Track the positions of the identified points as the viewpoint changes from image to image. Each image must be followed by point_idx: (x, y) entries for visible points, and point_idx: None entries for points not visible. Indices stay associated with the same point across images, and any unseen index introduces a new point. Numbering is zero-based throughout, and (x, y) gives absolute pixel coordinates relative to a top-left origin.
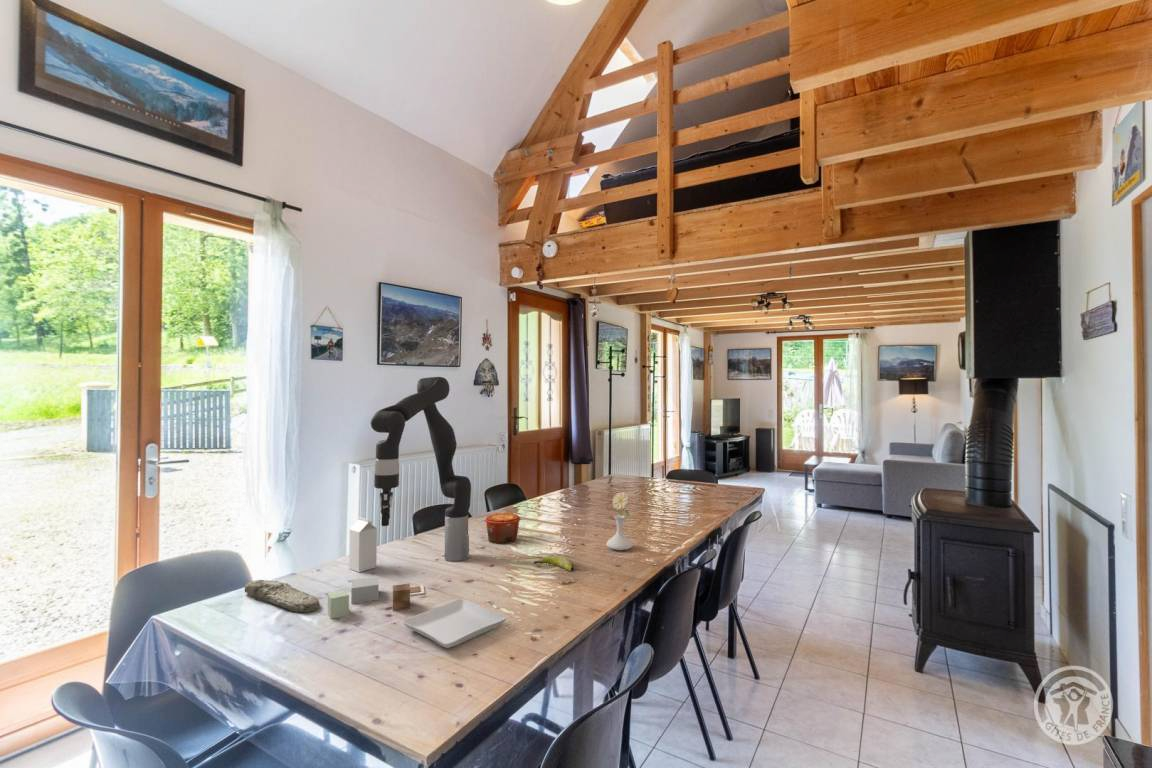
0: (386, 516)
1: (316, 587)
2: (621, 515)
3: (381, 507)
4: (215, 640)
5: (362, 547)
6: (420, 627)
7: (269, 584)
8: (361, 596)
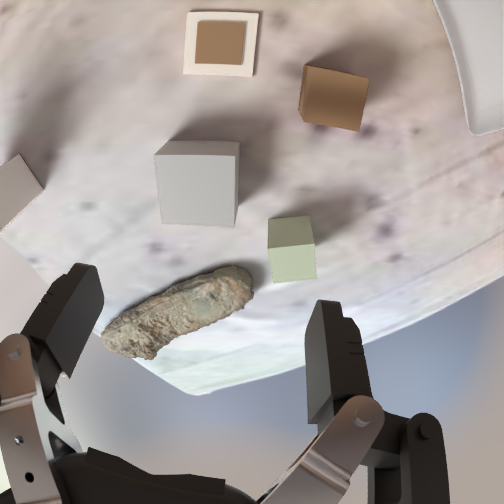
0: (366, 388)
1: (115, 266)
2: None
3: (401, 490)
4: (297, 363)
5: (2, 216)
6: (479, 99)
7: (144, 343)
8: (237, 190)
